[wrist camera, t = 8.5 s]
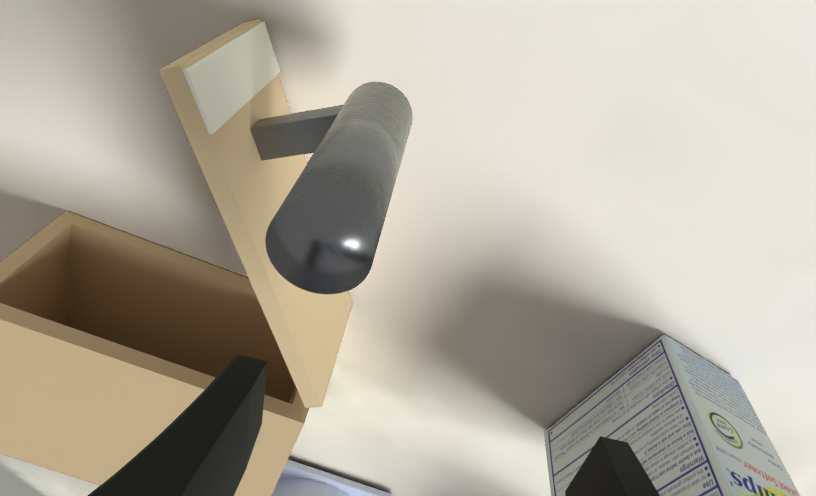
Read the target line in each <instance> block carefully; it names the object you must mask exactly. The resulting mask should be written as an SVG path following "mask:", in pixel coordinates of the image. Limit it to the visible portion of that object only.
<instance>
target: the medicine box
mask: <svg viewBox="0 0 816 496" xmlns="http://www.w3.org/2000/svg"><path fill="white" fill-rule="evenodd" d="M600 436H601V437H606V438H610V439H615V440H619V441H623V442H628V443H629V445H630V447H631V448H632V450H633V452H634V453H635V455H636V457H637V458H638V460H639V461H640V463H641V465H642V467H643V468H644V470H645V472H646V473H647V475H648V477H649V478H650V480H651V482H652V483H653V485H654V487H655V488H656V490H657V492H658V493H659V495H660V496H800V494H799V493H798V491H797V489H796V487H795V485H794V483H793V482H792V480H791V478H790V476H789V474H788V472H787V470H786V469H785V467H784V465H783V463H782V461H781V459H780V457H779V456H778V454H777V452H776V450H775V448H774V446H773V444H772V443H771V441H770V439H769V437H768V435H767V433H766V431H765V429H764V427H763V426H762V424H761V422H760V420H759V418H758V416H757V414H756V413H755V411H754V409H753V407H752V405H751V403H750V401H749V400H748V398H747V396H746V394H745V392H744V390H743V388H742V387H741V385H740V383H739V382H738V381H737V380H736V379H735V378H733V377H732V376H730V375H729V374H727V373H725V372H724V371H722V370H721V369H719V368H718V367H716V366H715V365H713V364H712V363H710V362H709V361H707V360H705V359H704V358H702V357H700V356H698V355H697V354H695V353H694V352H692V351H690V350H689V349H687V348H686V347H684V346H683V345H681V344H680V343H678V342H676V341H675V340H673V339H672V338H670V337H668V336H667V335H662V336H661V337H659V338H658V339H657V340H656V341H655V342H654V343H652V344H651V345H650V346H649V347H647V348H646V349H645V350H644V351H643V352H641V353H640V354H639V355H638V356H637V357H636V358H634V359H633V360H632V361H630V362H629V363H628V364H627V365H626V366H624V367H623V368H622V369H621V370H620V371H618V372H617V373H616V374H615V375H613V376H612V377H611V378H610V379H609V380H607V381H606V382H605V383H604V384H602V385H601V386H600V387H599V388H598V389H596V390H595V391H594V392H593V393H592V394H590V395H589V396H588V397H587V398H586V399H584V400H583V401H582V402H581V403H579V404H578V405H577V406H576V407H575V408H573V409H572V410H571V411H570V412H568V413H567V414H566V415H565V416H564V417H562V418H561V419H560V420H559V421H558V422H556V423H555V424H554V425H553V426H551V427H550V428H548V429H547V430H546V431H545V432H544V437H545V446H546V454H547V463H548V472H549V480H550V489H551V496H565V491H566V489H567V488H568V486H569V484H570V483H571V481H572V480H573V478H574V477H575V475H576V473H577V472H578V470H579V469H580V467H581V466H582V464H583V462H584V461H585V459H586V458H587V456H588V455H589V453H590V451H591V450H592V448H593V447H594V445H595V444H596V442H597V440H598V439H599V437H600Z"/></svg>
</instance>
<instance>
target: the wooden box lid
mask: <svg viewBox="0 0 816 496" xmlns="http://www.w3.org/2000/svg"><path fill="white" fill-rule="evenodd" d="M158 71H159V73H160V76H161V78H162V80H163V83H164V85H165V87H166V90H167V92H168V94H169V96H170V99H171V101H172V103H173V106H174V108H175V110H176V112H177V115H178V117H179V119H180V122H181V124H182V126H183V129H184V131H185V133H186V135H187V138H188V140H189V142H190V145H191V147H192V149H193V151H194V154H195V156H196V158H197V161H198V163H199V165H200V168H201V170H202V172H203V174H204V177H205V179H206V181H207V184H208V186H209V188H210V190H211V193H212V195H213V197H214V200H215V202H216V204H217V207H218V209H219V211H220V213H221V216H222V218H223V220H224V223H225V225H226V227H227V229H228V232H229V234H230V236H231V239H232V241H233V243H234V246H235V248H236V250H237V252H238V255H239V257H240V259H241V262H242V264H243V266H244V268H245V271H246V273H247V275H248V278H249V280H250V282H251V285H252V287H253V289H254V291H255V294H256V296H257V298H258V301H259V303H260V305H261V307H262V310H263V312H264V314H265V317H266V319H267V321H268V324H269V326H270V328H271V330H272V333H273V335H274V337H275V340H276V342H277V344H278V346H279V349H280V351H281V353H282V356H283V358H284V360H285V363H286V365H287V367H288V369H289V372H290V374H291V376H292V379H293V381H294V383H295V385H296V388H297V390H298V392H299V395H300V397H301V399H302V402H303V404H304V406H305V408H311V407H322V404H323V401H324V398H325V394H326V391H327V388H328V384H329V381H330V378H331V374H332V371H333V368H334V365H335V361H336V358H337V355H338V351H339V348H340V345H341V341H342V338H343V335H344V331H345V328H346V325H347V321H348V318H349V315H350V312H351V308H352V305H353V303H352V300H351V297H350V294H349V291H348V290H351V289H353V288H354V287H356V286H358V285H359V284H360V283H361V282H362V281H363V280H364V279H365V278H366V276H367V275H368V273H369V271H370V269H371V266H372V263H373V259H374V256H375V252H376V248H377V245H378V241H379V238H380V234H381V231H382V227H383V224H384V220H385V217H386V213H387V210H388V206H389V202H390V199H391V195H392V192H393V188H394V185H395V181H396V178H397V174H398V171H399V167H400V164H401V160H402V156H403V153H404V149H405V146H406V142H407V139H408V135H409V132H410V128H411V125H412V110H411V106H410V104H409V102H408V100H407V98H406V97H405V96H404V94H403V93H402V92H401V91H400V90H398V89H397V88H395V87H394V86H392V85H390V84H387V83H383V82H370V83H366V84H363V85H361V86H359V87H358V88H356V89H355V90H354V91H353V92H352V93H351V95H350V96H349V97H348V99H347V101H346V102H345V104H344V105H340V106H334V107H328V108H322V109H316V110H311V111H305V112H299V113H293V114H291V112H290V108H289V105H288V102H287V99H286V96H285V93H284V90H283V87H282V84H281V81H280V78H279V73H280V72H281V71H280V68H279V65H278V62H277V59H276V56H275V53H274V50H273V47H272V43H271V40H270V37H269V34H268V31H267V28H266V25H265V22H261V19H257V20H252V21H248V22H243V23H241V24H239V25H238V26H236V27H234V28H232V29H231V30H229V31H227V32H225V33H223V34H222V35H220V36H218V37H216V38H215V39H213V40H211V41H209V42H207V43H206V44H204V45H202V46H200V47H199V48H197V49H195V50H193V51H191V52H190V53H188V54H186V55H184V56H183V57H181V58H179V59H177V60H175V61H174V62H172V63H170V64H168V65H167V66H165V67H163V68H161V69H159V70H158ZM308 153H314V154H313V155H312V157H311V158H310V160H309V162H308V163H307V161H306V158H305V155H304V154H308Z"/></svg>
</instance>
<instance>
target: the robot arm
mask: <svg viewBox="0 0 816 496" xmlns="http://www.w3.org/2000/svg"><path fill="white" fill-rule="evenodd" d="M266 371H267V361H264V360H260V359H256V358H251V357H247V356H242V355H237V356H235V357H233V358H232V360H231V361H230V362H229V363H228V364H227V366H226V367H225V368H224V369H223V370H222V371H221V372H220V374H219V375H218V376H217V377H216V378H215V379H214V380H213V381H212V382H211V384H210V385H209V386H208V387H207V388H206V389H205V390H204V391H203V392H202V393H201V394H200V395H199V396H198V397H197V398H196V399H195V400H194V401H193V402H192V403H191V404H190V405H189V406H188V407H187V408H186V409H185V410H184V411H183V412H182V413H181V414H180V415H179V416H178V417H177V418H176V419H175V420H174V421H173V422H172V423H171V424H170V425H169V426H168V427H167V428H166V429H165V430H164V431H163V432H162V433H161V434H159V435H158V436H157V437H156V438H155V439H154V440H153V441H152V442H151V443H149V444H148V445H147V446H146V447H145V448H144V449H143V450H142V451H140V452H139V453H138V454H137V455H136V456H135V457H134V458H132V459H131V460H130V461H129V462H128V463H127V464H126V465H124V466H123V467H122V468H121V469H120V470H119V471H117V472H116V473H115V474H114V475H113V476H111V477H110V478H109V479H108V480H107V481H105V482H104V483H103V484H102V485H100V486H99V487H98V488H97V489H95V490H94V491H93V492H92V493H90V494H89V495H88V496H234V494H235V492H236V490H237V488H238V486H239V484H240V481H241V479H242V477H243V475H244V473H245V471H246V468H247V465H248V462H249V459H250V457H251V454H252V451H253V448H254V445H255V442H256V439H257V436H258V434H259V431H260V428H261V425H262V417H263V406H264V394H265V382H266ZM271 496H393V495H392V494H390V493H387V492H384V491H381V490H378V489H375V488H372V487H369V486H366V485H363V484H360V483H357V482H354V481H351V480H348V479H345V478H342V477H339V476H336V475H333V474H330V473H327V472H324V471H321V470H318V469H315V468H312V467H309V466H306V465H303V464H300V463H297V462H294V461H291V460H287V462H286V464H285V467H284V469H283V471H282V473H281V475H280V478H279V480H278V482H277V484H276V486H275V489H274V491H273V493H272V495H271ZM565 496H660V495H659V493H658V492H657V490H656V488H655V487H654V485H653V483H652V482H651V480H650V478H649V477H648V475H647V473H646V472H645V470H644V468H643V467H642V465H641V463H640V461H639V460H638V458H637V457H636V455H635V453H634V452H633V450H632V448H631V447H630V445H629V443H628V442H623V441H619V440H615V439H610V438H606V437H601V436H600V437H599V439H598V440H597V442H596V444H595V445H594V447H593V448H592V450H591V451H590V453H589V455H588V456H587V458H586V459H585V461H584V462H583V464H582V466H581V467H580V469H579V470H578V472H577V473H576V475H575V477H574V478H573V480H572V481H571V483H570V484H569V486H568V488H567V489H566V491H565Z"/></svg>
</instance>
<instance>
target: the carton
mask: <svg viewBox="0 0 816 496" xmlns="http://www.w3.org/2000/svg"><path fill="white" fill-rule="evenodd" d="M237 355H242V356H247V357H251V358H256V359H260V360H264V361H267V371H266V382H265V394H264V406H263V417H262V425H261V428H260V431H259V434H258V436H257V439H256V442H255V445H254V448H253V451H252V454H251V457H250V459H249V462H248V465H247V468H246V471H245V473H244V475H243V477H242V479H241V481H240V484H239V486H238V488H237V490H236V492H235V494H234V496H271V495H272V493H273V491H274V489H275V486H276V484H277V482H278V480H279V478H280V475H281V473H282V471H283V469H284V467H285V464H286V462H287V460H288V458H289V456H290V453H291V451H292V449H293V447H294V444H295V442H296V440H297V438H298V436H299V433H300V431H301V429H302V427H303V425H304V422H305V419H306V416H307V413H308V410H309V408H305V406H304V404H303V402H302V399H301V397H300V395H299V392H298V390H297V388H296V385H295V383H294V381H293V379H292V376H291V374H290V372H289V369H288V367H287V365H286V363H285V360H284V358H283V356H282V353H281V351H280V349H279V346H278V344H277V342H276V340H275V337H274V335H273V333H272V330H271V328H270V326H269V324H268V321H267V319H266V317H265V314H264V312H263V310H262V307H261V305H260V303H259V301H258V298H257V296H256V294H255V291H254V289H253V287H252V285H251V282H250V280H249V278H246V277H243V276H241V275H238V274H235V273H233V272H230V271H227V270H225V269H222V268H219V267H216V266H214V265H211V264H208V263H206V262H203V261H200V260H198V259H195V258H192V257H190V256H187V255H184V254H181V253H179V252H176V251H173V250H171V249H168V248H165V247H163V246H160V245H157V244H155V243H152V242H149V241H147V240H144V239H141V238H138V237H136V236H133V235H130V234H128V233H125V232H122V231H120V230H117V229H114V228H112V227H109V226H106V225H103V224H101V223H98V222H95V221H93V220H90V219H87V218H85V217H82V216H79V215H77V214H74V213H71V212H68V211H65V212H64V213H63V214H61V215H60V216H59V217H57V218H56V219H55V220H54V221H52V222H51V223H50V224H48V225H47V226H46V227H45V228H43V229H42V230H41V231H39V232H38V233H37V234H36V235H34V236H33V237H32V238H30V239H29V240H28V241H27V242H25V243H24V244H23V245H21V246H20V247H19V248H18V249H16V250H15V251H14V252H12V253H11V254H10V255H9V256H7V257H6V258H5V259H3V260H2V261H1V262H0V454H3V455H6V456H9V457H12V458H15V459H18V460H22V461H25V462H28V463H31V464H34V465H38V466H41V467H44V468H47V469H50V470H53V471H57V472H60V473H63V474H66V475H69V476H72V477H76V478H79V479H82V480H85V481H88V482H92V483H95V484H98V485H102V484H103V483H104V482H105V481H107V480H108V479H109V478H110V477H111V476H113V475H114V474H115V473H116V472H117V471H119V470H120V469H121V468H122V467H123V466H124V465H126V464H127V463H128V462H129V461H130V460H131V459H132V458H134V457H135V456H136V455H137V454H138V453H139V452H140V451H142V450H143V449H144V448H145V447H146V446H147V445H148V444H149V443H151V442H152V441H153V440H154V439H155V438H156V437H157V436H158V435H159V434H161V433H162V432H163V431H164V430H165V429H166V428H167V427H168V426H169V425H170V424H171V423H172V422H173V421H174V420H175V419H176V418H177V417H178V416H179V415H180V414H181V413H182V412H183V411H184V410H185V409H186V408H187V407H188V406H189V405H190V404H191V403H192V402H193V401H194V400H195V399H196V398H197V397H198V396H199V395H200V394H201V393H202V392H203V391H204V390H205V389H206V388H207V387H208V386H209V385H210V384H211V382H212V381H213V380H214V379H215V378H216V377H217V376H218V375H219V374H220V372H221V371H222V370H223V369H224V368H225V367H226V366H227V364H228V363H229V362H230V361H231V360H232V358H233V357H235V356H237Z"/></svg>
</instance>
